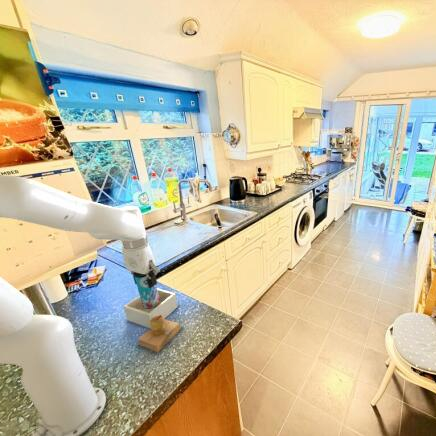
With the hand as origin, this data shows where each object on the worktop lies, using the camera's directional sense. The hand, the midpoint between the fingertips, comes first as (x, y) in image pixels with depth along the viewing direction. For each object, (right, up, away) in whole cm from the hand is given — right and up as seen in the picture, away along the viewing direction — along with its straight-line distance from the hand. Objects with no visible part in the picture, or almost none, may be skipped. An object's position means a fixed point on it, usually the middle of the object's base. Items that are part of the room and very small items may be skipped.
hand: (146, 283), depth 89 cm
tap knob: (+9, -15, -7) cm, 18 cm away
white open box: (0, -13, +5) cm, 14 cm away
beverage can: (0, -9, +4) cm, 10 cm away
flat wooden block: (+9, -18, -5) cm, 20 cm away
